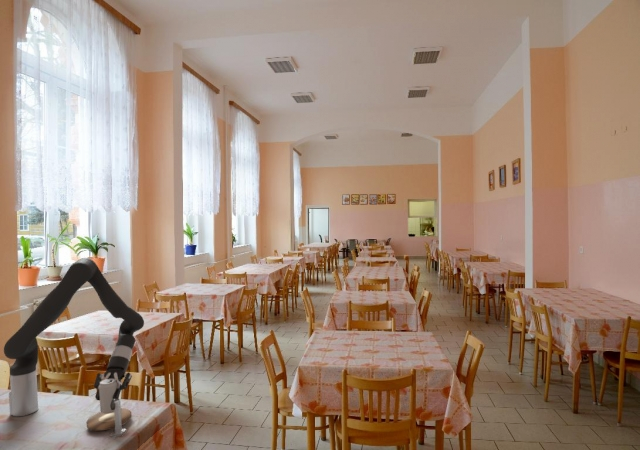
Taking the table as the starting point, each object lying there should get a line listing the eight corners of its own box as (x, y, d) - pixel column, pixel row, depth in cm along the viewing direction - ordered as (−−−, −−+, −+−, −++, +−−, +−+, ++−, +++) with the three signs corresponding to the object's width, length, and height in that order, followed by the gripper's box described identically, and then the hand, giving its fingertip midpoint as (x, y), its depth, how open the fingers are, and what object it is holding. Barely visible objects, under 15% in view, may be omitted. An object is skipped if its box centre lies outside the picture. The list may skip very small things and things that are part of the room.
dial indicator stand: (110, 437, 160) (108, 402, 160) (117, 430, 165) (115, 396, 165) (121, 436, 160) (119, 402, 160) (127, 430, 165) (126, 396, 164)
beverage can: (111, 415, 167) (109, 384, 166) (96, 414, 168) (94, 383, 168) (121, 407, 173) (120, 378, 173) (107, 406, 174) (106, 377, 174)
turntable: (77, 430, 163) (77, 427, 163) (101, 411, 179) (101, 408, 179) (118, 430, 162) (118, 427, 162) (138, 410, 178) (138, 408, 178)
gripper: (99, 355, 178) (83, 396, 166) (133, 354, 177) (120, 395, 165) (107, 363, 183) (92, 403, 172) (140, 362, 182) (127, 402, 171)
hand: (106, 399), depth 169 cm, fingers closed on beverage can, 6 cm apart
